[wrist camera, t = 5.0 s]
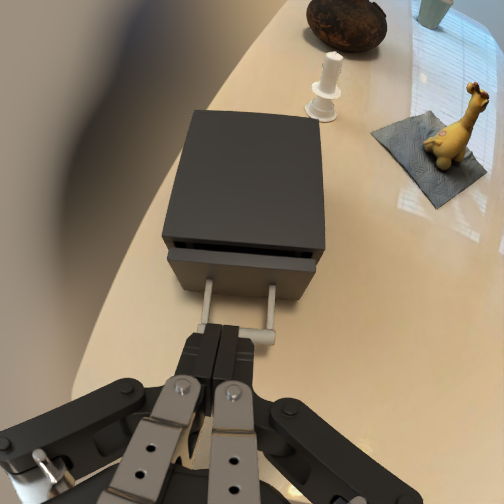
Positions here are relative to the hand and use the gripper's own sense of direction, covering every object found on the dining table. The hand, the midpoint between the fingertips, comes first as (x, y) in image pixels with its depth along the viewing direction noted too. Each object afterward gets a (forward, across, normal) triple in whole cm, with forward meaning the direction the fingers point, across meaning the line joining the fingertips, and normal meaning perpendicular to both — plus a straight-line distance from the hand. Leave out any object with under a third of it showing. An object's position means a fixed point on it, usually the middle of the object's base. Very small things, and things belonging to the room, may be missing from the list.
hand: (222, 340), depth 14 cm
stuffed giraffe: (+39, -30, -10) cm, 50 cm away
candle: (+42, -10, -13) cm, 45 cm away
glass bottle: (+62, -17, -33) cm, 72 cm away
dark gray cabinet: (+26, 0, +2) cm, 26 cm away
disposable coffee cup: (+84, -51, -55) cm, 113 cm away
